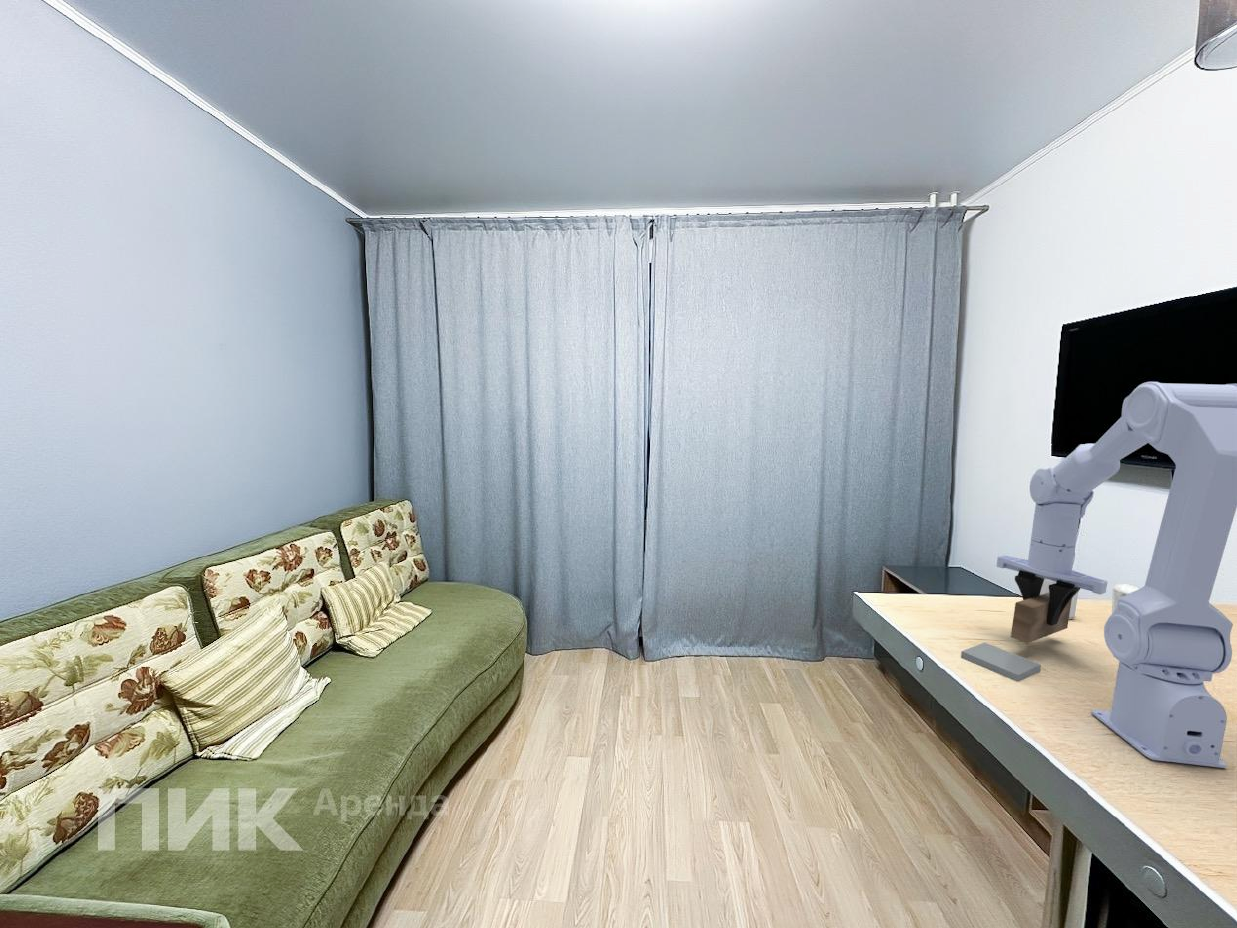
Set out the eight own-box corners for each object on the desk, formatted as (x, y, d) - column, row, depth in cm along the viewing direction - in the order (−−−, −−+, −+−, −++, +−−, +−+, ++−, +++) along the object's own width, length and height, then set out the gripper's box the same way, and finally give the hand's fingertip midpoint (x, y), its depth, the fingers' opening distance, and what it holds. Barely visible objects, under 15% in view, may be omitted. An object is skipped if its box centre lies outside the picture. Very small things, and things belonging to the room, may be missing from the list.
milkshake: (1152, 640, 93) (1161, 587, 92) (1117, 637, 94) (1126, 583, 93) (1133, 629, 98) (1141, 578, 96) (1100, 626, 99) (1108, 575, 98)
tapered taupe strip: (1027, 643, 84) (1032, 607, 83) (1010, 637, 86) (1015, 602, 86) (1067, 628, 91) (1072, 594, 90) (1050, 622, 93) (1055, 590, 92)
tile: (1041, 664, 81) (1018, 675, 78) (1039, 674, 81) (1016, 685, 78) (984, 642, 88) (961, 651, 85) (983, 651, 88) (960, 660, 85)
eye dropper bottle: (1074, 623, 100) (1083, 563, 98) (1037, 615, 103) (1045, 556, 102) (1073, 616, 103) (1082, 558, 101) (1037, 608, 106) (1045, 552, 105)
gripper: (1120, 551, 82) (1106, 633, 84) (1015, 529, 95) (1005, 601, 96) (1100, 556, 79) (1087, 642, 81) (994, 533, 91) (984, 607, 93)
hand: (1041, 620), depth 88 cm, fingers closed on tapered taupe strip, 2 cm apart
